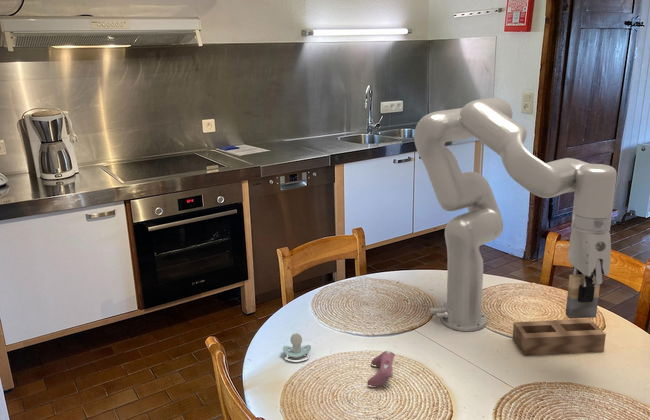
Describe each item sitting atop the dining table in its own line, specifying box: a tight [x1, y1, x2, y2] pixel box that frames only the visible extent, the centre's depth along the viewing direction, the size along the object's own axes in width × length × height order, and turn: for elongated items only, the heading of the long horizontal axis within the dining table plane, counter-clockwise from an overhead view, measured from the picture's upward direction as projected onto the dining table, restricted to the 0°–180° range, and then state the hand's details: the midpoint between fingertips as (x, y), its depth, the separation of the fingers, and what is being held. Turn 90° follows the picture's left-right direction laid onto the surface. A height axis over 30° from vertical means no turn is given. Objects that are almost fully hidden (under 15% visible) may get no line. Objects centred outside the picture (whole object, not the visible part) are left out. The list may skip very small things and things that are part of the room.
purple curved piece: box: [367, 349, 396, 387], centre depth 124 cm, size 10×5×7 cm, turn 169°
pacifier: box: [282, 332, 312, 359], centre depth 134 cm, size 7×6×6 cm
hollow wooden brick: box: [512, 318, 607, 357], centre depth 134 cm, size 20×8×5 cm, turn 91°
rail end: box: [565, 273, 601, 320], centre depth 118 cm, size 6×2×10 cm, turn 91°
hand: (582, 298), depth 118 cm, fingers closed on rail end, 1 cm apart
